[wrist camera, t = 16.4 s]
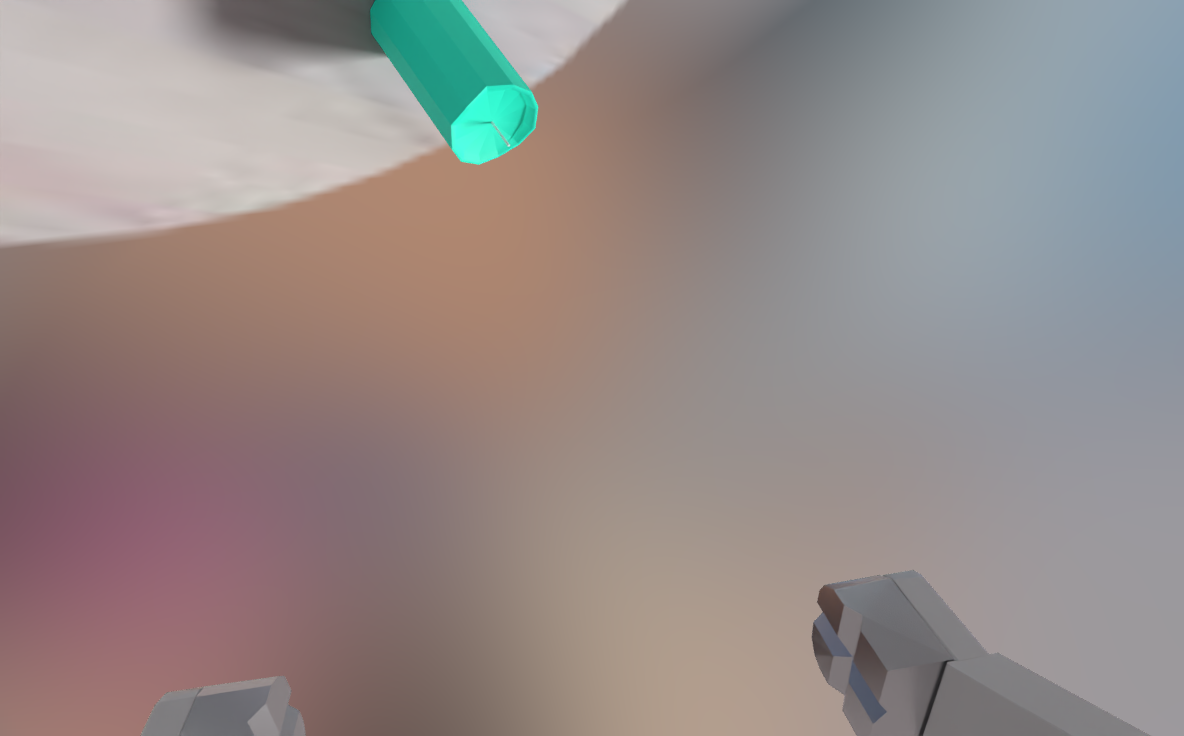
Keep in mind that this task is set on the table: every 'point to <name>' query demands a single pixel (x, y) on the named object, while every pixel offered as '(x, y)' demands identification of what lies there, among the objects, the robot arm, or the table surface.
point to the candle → (456, 75)
